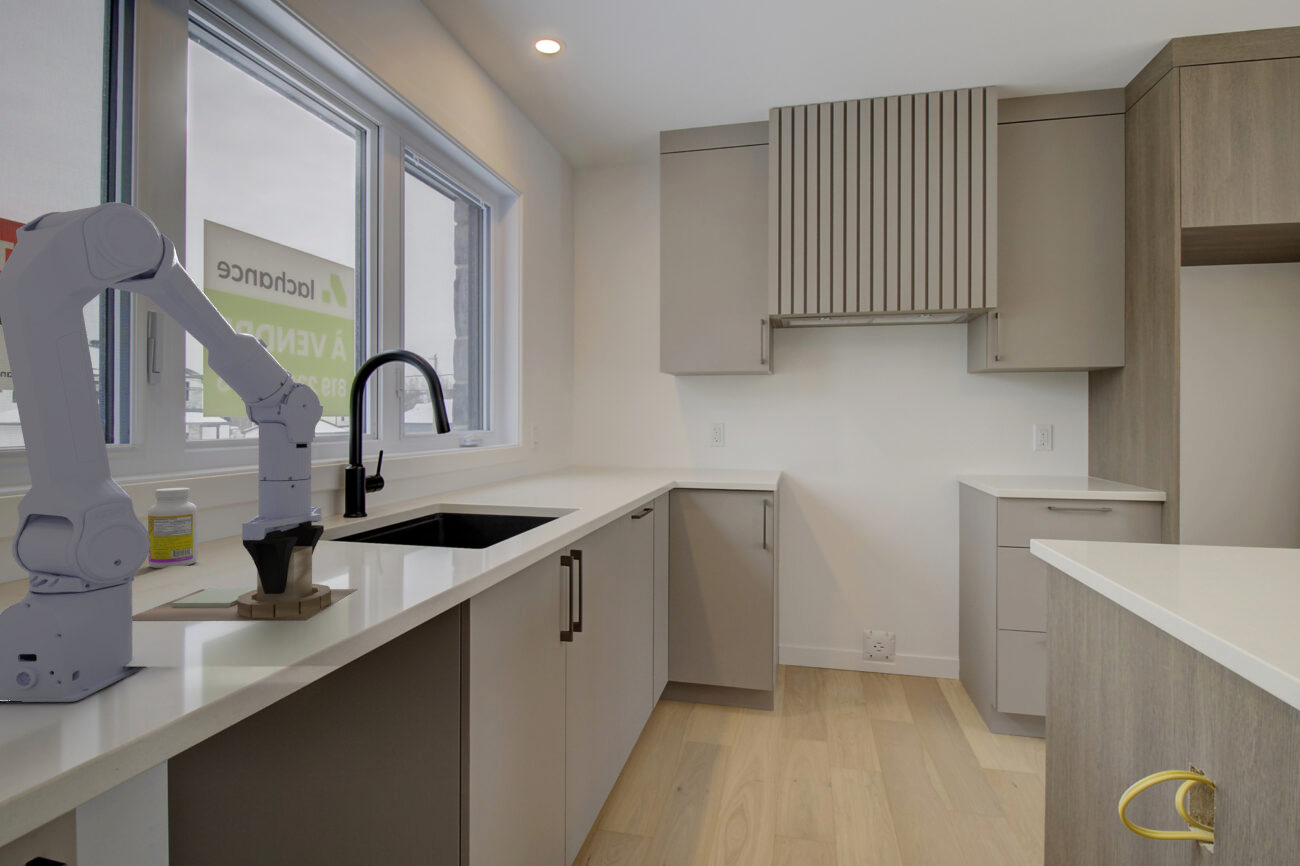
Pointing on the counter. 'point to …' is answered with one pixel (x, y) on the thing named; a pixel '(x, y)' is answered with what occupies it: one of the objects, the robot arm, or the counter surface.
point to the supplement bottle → (172, 529)
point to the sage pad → (213, 598)
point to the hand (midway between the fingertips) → (285, 588)
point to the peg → (293, 577)
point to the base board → (221, 611)
